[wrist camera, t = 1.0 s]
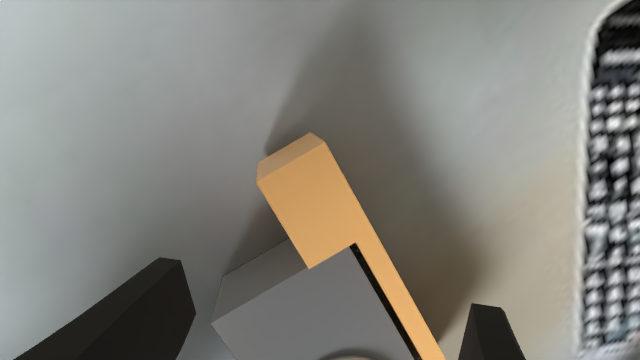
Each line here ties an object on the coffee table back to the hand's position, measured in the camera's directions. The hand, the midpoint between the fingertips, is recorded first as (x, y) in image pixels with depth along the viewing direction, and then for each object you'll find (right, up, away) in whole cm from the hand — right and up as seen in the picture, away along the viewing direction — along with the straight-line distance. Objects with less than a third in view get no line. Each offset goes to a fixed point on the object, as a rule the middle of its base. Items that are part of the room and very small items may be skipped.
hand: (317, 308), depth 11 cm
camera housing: (0, -4, +12) cm, 12 cm away
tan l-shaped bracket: (+2, -1, +11) cm, 11 cm away
